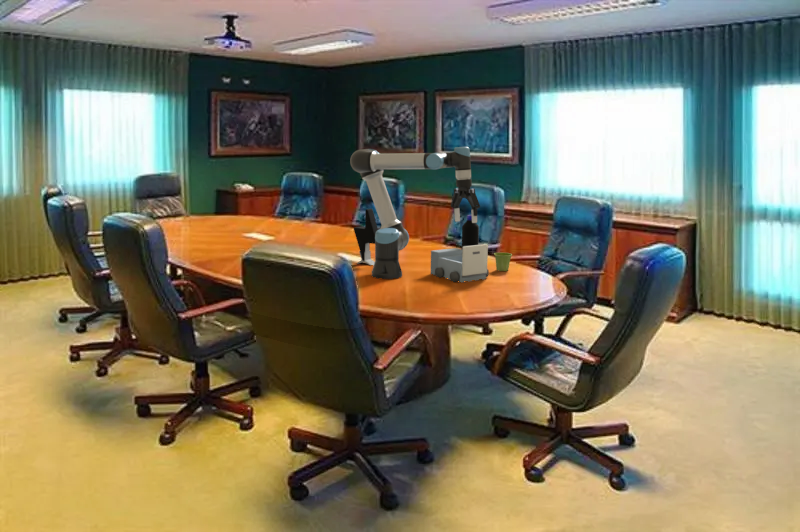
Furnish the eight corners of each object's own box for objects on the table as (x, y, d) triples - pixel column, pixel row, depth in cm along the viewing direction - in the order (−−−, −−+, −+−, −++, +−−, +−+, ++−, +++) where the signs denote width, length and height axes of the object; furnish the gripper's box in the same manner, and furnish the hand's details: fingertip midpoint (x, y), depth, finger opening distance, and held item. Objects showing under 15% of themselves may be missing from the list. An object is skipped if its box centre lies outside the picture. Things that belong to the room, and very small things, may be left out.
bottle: (467, 265, 382) (468, 213, 377) (480, 267, 377) (482, 215, 372) (457, 267, 376) (459, 215, 370) (471, 269, 370) (473, 216, 365)
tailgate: (463, 278, 337) (464, 247, 334) (461, 277, 338) (462, 246, 336) (487, 274, 346) (488, 244, 343) (485, 274, 347) (486, 244, 344)
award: (381, 264, 382) (381, 209, 376) (376, 266, 377) (376, 210, 372) (358, 261, 390) (358, 207, 384) (353, 263, 385) (353, 208, 380)
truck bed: (456, 283, 338) (457, 258, 335) (426, 274, 357) (427, 251, 355) (489, 278, 349) (490, 254, 347) (458, 270, 368) (459, 247, 366)
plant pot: (515, 270, 370) (515, 254, 368) (504, 272, 363) (505, 256, 362) (500, 267, 376) (500, 251, 375) (489, 270, 369) (490, 254, 368)
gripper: (486, 178, 337) (488, 222, 340) (454, 178, 357) (456, 219, 361) (473, 179, 333) (476, 224, 336) (442, 179, 353) (444, 221, 357)
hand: (465, 222), depth 348 cm, fingers open, 13 cm apart
